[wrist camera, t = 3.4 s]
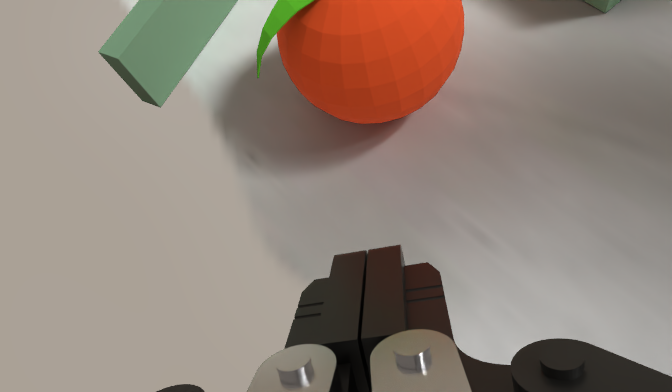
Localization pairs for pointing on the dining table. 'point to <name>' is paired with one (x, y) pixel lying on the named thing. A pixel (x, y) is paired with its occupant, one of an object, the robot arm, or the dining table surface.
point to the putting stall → (175, 42)
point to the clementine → (366, 53)
